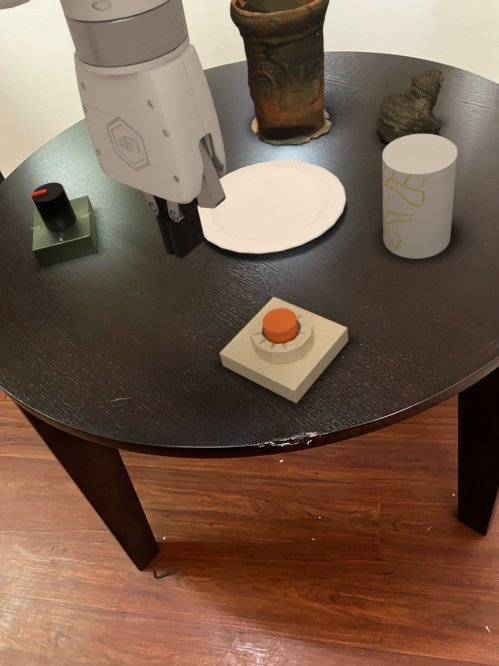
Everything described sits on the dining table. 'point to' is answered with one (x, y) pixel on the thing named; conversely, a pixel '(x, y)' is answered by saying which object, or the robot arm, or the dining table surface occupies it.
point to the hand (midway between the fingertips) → (186, 246)
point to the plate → (273, 207)
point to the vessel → (284, 66)
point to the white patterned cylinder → (418, 194)
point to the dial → (54, 206)
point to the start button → (280, 325)
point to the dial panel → (66, 236)
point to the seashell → (411, 108)
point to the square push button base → (285, 352)
